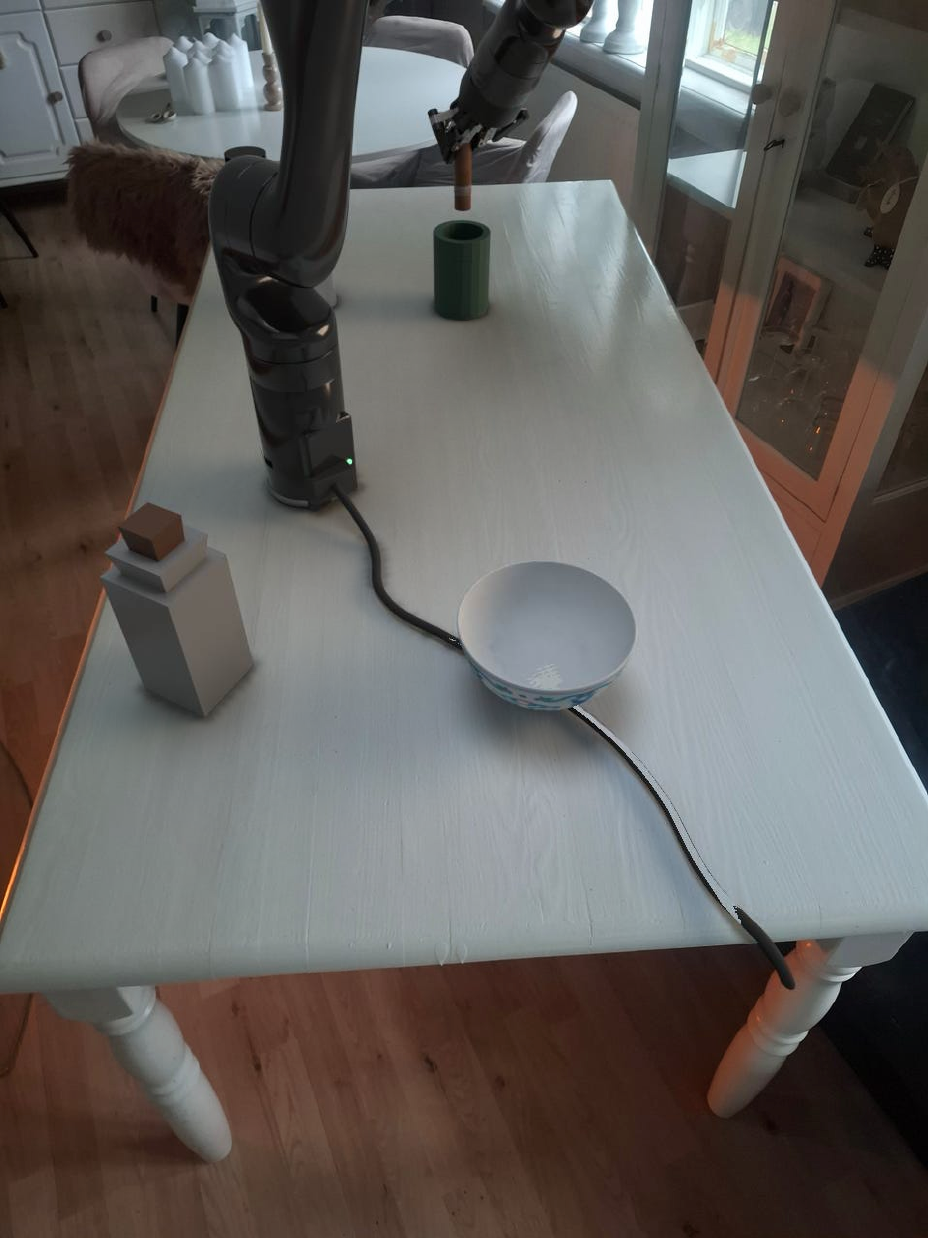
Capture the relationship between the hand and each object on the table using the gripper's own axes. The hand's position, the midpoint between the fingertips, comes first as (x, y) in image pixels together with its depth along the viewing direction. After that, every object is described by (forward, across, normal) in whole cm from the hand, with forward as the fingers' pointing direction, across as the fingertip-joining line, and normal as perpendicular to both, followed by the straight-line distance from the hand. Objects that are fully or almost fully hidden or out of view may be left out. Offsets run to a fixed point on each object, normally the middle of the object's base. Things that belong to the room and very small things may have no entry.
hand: (455, 155), depth 113 cm
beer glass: (+20, +19, +8) cm, 29 cm away
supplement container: (+43, +18, -15) cm, 49 cm away
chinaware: (-34, +25, +63) cm, 76 cm away
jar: (+13, 0, +16) cm, 20 cm away
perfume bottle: (-25, +52, +53) cm, 78 cm away
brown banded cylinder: (+3, 0, +6) cm, 6 cm away
